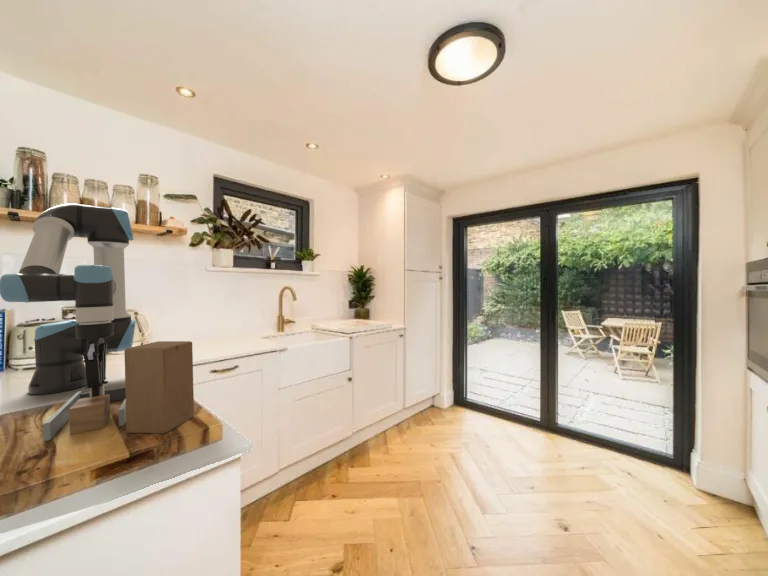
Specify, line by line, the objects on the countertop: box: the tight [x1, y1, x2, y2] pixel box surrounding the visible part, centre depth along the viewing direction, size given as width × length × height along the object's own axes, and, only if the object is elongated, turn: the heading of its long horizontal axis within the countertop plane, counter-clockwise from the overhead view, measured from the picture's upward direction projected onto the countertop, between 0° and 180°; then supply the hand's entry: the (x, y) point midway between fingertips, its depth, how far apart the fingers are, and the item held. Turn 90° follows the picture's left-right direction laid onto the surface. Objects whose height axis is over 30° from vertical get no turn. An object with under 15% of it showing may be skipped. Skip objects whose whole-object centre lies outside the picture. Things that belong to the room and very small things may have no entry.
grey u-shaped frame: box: [43, 386, 126, 442], centre depth 85 cm, size 26×14×4 cm, turn 33°
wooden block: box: [123, 340, 195, 435], centre depth 78 cm, size 10×10×20 cm
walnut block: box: [69, 394, 111, 435], centre depth 78 cm, size 8×6×6 cm
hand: (97, 410), depth 84 cm, fingers closed
